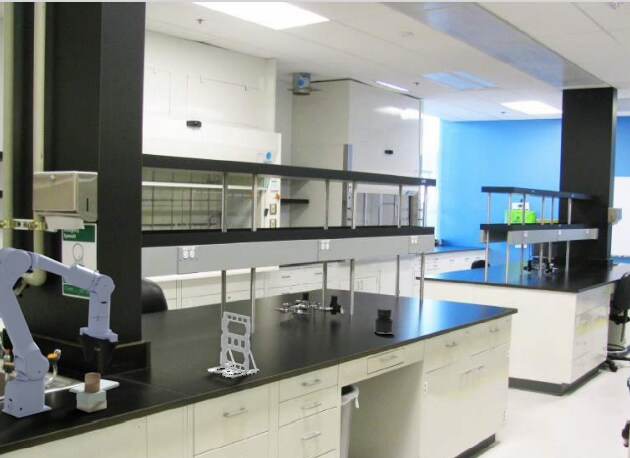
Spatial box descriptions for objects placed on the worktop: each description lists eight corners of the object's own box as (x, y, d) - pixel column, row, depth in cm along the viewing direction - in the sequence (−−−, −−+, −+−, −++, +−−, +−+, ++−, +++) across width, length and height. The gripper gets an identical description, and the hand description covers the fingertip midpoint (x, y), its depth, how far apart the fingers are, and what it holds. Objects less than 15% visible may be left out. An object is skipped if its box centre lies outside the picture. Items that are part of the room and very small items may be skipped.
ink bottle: (393, 332, 308) (394, 308, 308) (393, 336, 300) (394, 311, 299) (373, 331, 309) (374, 307, 309) (373, 334, 301) (374, 309, 300)
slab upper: (87, 404, 170) (88, 395, 170) (76, 399, 174) (76, 390, 174) (105, 400, 175) (106, 391, 175) (94, 395, 178) (94, 387, 178)
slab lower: (89, 413, 170) (89, 404, 170) (76, 409, 174) (77, 400, 173) (106, 408, 175) (106, 399, 175) (93, 404, 178) (94, 395, 178)
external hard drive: (119, 387, 197) (90, 397, 185) (98, 383, 200) (69, 393, 188) (119, 382, 197) (91, 392, 185) (98, 378, 200) (69, 387, 188)
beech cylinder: (89, 393, 171) (90, 376, 171) (81, 390, 174) (82, 374, 174) (102, 390, 175) (103, 374, 175) (94, 388, 177) (94, 372, 177)
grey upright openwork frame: (203, 370, 220) (206, 313, 220) (233, 364, 231) (235, 309, 230) (231, 379, 211) (234, 319, 210) (261, 372, 221) (263, 315, 221)
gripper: (127, 317, 181) (125, 364, 181) (95, 311, 189) (93, 356, 190) (106, 320, 175) (104, 369, 176) (74, 313, 183) (72, 360, 184)
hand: (97, 362), depth 182 cm, fingers open, 7 cm apart
